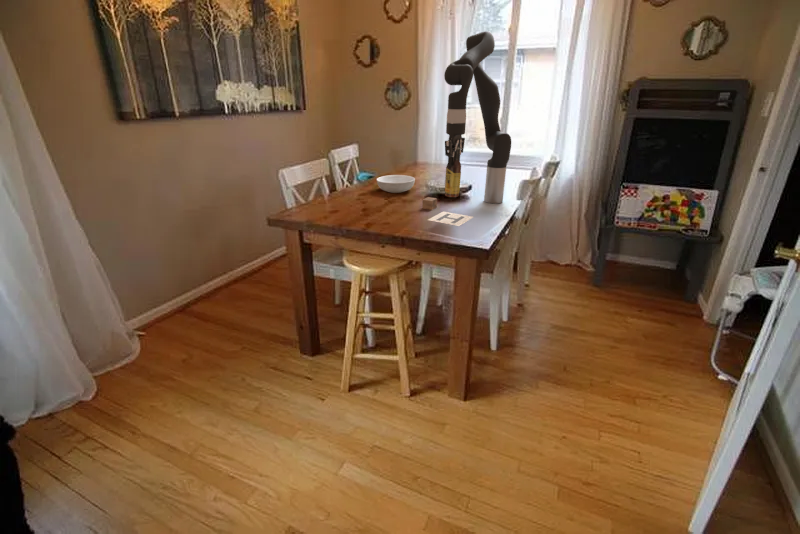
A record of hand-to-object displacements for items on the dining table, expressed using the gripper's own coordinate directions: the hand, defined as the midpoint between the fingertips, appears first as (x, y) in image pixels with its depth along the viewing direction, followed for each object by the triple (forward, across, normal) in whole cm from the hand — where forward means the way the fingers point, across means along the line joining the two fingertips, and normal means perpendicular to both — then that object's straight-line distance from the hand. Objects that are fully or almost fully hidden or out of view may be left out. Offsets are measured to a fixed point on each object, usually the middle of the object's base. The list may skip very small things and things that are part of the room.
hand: (453, 165), depth 164 cm
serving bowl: (+24, -30, -48) cm, 62 cm away
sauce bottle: (+13, 0, 0) cm, 13 cm away
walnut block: (+24, -9, -16) cm, 30 cm away
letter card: (+23, 0, 0) cm, 23 cm away
